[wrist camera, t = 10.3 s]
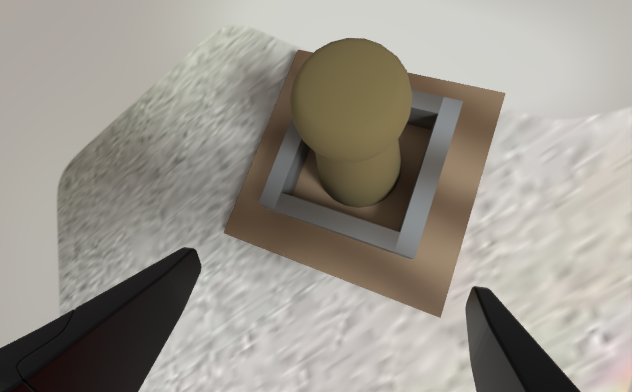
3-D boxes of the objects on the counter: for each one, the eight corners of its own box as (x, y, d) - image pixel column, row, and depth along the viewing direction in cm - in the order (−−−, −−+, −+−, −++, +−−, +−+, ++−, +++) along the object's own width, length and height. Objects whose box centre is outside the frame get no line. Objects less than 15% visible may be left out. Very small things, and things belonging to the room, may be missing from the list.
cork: (419, 174, 21) (467, 86, 11) (349, 224, 21) (327, 187, 11) (367, 112, 23) (363, -16, 12) (302, 160, 23) (243, 73, 12)
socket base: (437, 315, 20) (450, 325, 17) (229, 234, 24) (206, 229, 21) (499, 100, 22) (522, 71, 19) (300, 57, 26) (290, 27, 23)
